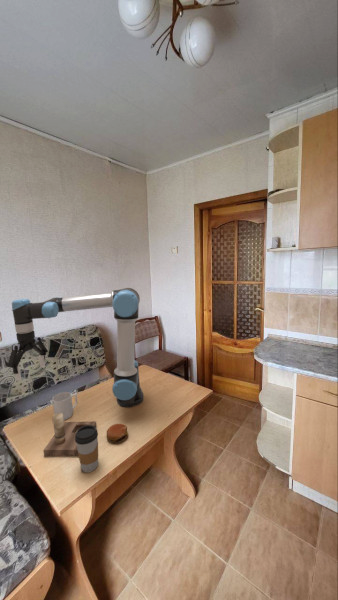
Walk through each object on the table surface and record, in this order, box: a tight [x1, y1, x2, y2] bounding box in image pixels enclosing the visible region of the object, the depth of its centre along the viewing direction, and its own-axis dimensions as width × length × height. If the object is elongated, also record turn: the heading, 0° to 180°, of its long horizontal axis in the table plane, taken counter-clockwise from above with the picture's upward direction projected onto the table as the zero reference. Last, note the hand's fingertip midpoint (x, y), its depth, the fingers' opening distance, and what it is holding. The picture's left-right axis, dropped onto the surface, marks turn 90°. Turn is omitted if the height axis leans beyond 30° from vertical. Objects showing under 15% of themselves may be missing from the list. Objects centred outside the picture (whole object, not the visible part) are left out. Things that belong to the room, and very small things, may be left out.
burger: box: [106, 423, 129, 444], centre depth 111 cm, size 10×9×5 cm
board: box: [43, 420, 97, 458], centre depth 110 cm, size 16×18×3 cm
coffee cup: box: [75, 425, 99, 473], centre depth 95 cm, size 8×8×15 cm
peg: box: [52, 413, 66, 444], centre depth 105 cm, size 4×4×12 cm
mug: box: [52, 391, 78, 421], centre depth 129 cm, size 12×9×11 cm
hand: (31, 373), depth 122 cm, fingers open, 13 cm apart
